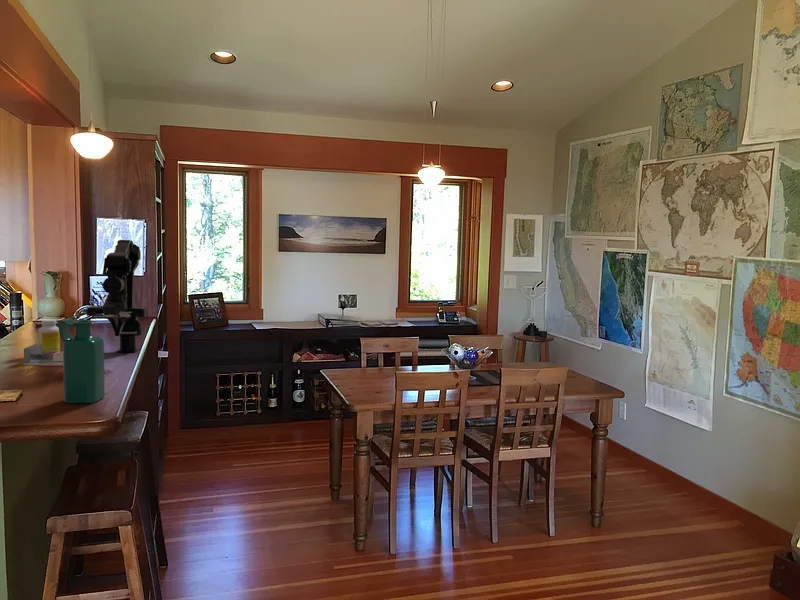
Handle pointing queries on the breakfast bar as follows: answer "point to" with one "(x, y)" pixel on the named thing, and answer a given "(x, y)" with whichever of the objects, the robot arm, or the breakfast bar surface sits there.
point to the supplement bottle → (49, 337)
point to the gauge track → (39, 357)
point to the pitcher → (82, 362)
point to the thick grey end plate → (58, 356)
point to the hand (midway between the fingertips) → (117, 336)
